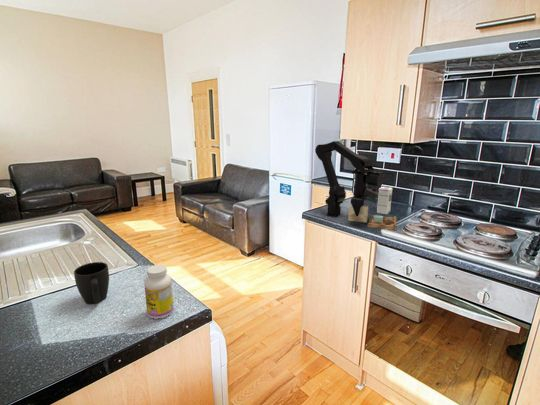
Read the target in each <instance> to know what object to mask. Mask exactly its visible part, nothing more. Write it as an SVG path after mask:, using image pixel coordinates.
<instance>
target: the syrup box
mask: <svg viewBox="0 0 540 405" xmlns="http://www.w3.org/2000/svg"><path fill="white" fill-rule="evenodd" d="M392 198H393V187H390V186H380V187H379V188H378V196H377V206H376V207H377V208H376V213H377V214H383V215H389V214H390V213H391V209H392Z"/></svg>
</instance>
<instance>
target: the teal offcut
mask: <svg viewBox="0 0 540 405" xmlns="http://www.w3.org/2000/svg"><path fill="white" fill-rule="evenodd" d="M373 216H374V218H373V220H374V221H375V222H383V217H384V216H383V215H376V214H373Z"/></svg>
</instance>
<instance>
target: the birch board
mask: <svg viewBox="0 0 540 405" xmlns="http://www.w3.org/2000/svg"><path fill="white" fill-rule="evenodd" d="M368 214H369V205H363V206H362V207H361V209H360V212H359V215H358V216H356V215H355V212H354V209H353V207H352V204H351V203H349V206H348V219H347V220H348V221H349V222H351V221H352V222H359V223H367V224H368V216H369V215H368Z"/></svg>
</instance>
